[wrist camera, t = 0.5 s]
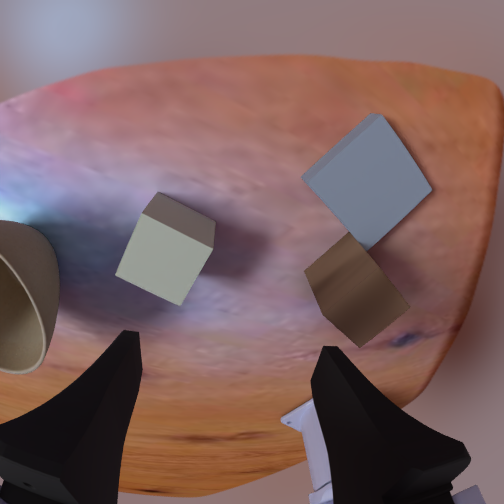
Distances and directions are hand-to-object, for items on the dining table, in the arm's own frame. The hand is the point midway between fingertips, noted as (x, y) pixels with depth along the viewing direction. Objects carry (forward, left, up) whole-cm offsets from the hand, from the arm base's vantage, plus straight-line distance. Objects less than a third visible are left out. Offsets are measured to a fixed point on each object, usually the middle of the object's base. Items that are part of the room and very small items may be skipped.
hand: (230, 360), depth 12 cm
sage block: (+3, +1, -10) cm, 10 cm away
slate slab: (-3, -10, -10) cm, 14 cm away
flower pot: (+10, +10, -10) cm, 18 cm away
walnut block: (-7, -5, -10) cm, 13 cm away
